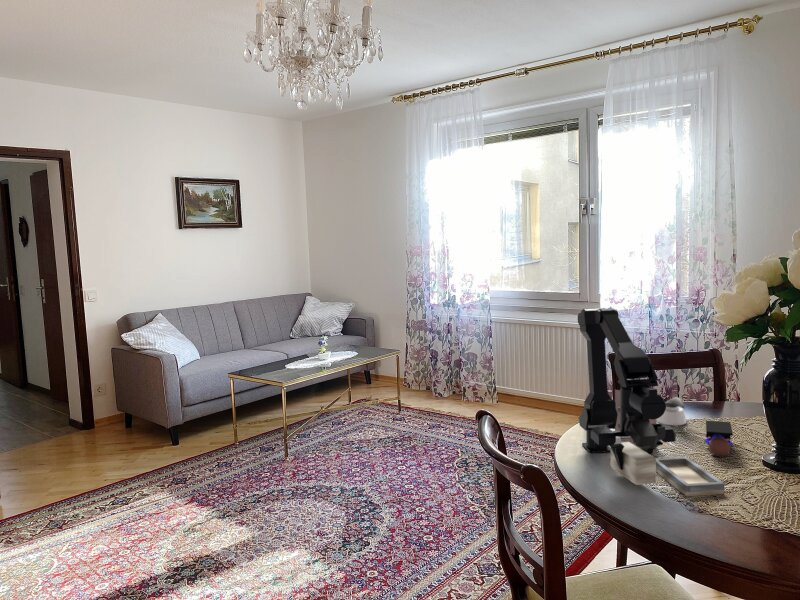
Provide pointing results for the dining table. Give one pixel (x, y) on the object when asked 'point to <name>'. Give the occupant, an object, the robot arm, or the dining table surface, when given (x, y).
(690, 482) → the jig board
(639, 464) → the block
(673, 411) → the inkwell
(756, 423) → the dining table surface
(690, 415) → the dining table surface
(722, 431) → the figurine character
